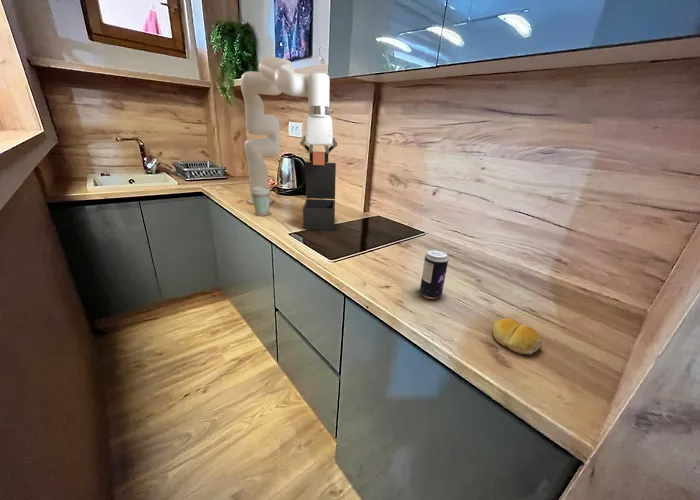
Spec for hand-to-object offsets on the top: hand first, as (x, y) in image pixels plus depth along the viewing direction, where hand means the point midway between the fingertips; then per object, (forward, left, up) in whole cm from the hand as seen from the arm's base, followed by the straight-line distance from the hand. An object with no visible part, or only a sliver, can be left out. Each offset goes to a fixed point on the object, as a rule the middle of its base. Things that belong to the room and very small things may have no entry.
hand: (319, 163), depth 117 cm
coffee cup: (-16, -27, -26) cm, 40 cm away
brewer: (-4, 0, -26) cm, 26 cm away
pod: (0, 0, 0) cm, 0 cm away
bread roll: (+71, +45, -26) cm, 88 cm away
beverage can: (+53, +32, -26) cm, 68 cm away
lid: (-9, 0, -9) cm, 12 cm away
